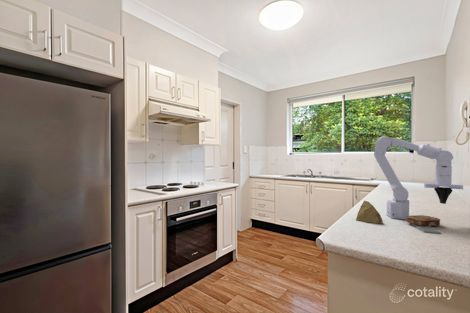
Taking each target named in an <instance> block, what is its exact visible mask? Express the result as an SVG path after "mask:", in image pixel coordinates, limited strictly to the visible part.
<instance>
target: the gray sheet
mask: <svg viewBox="0 0 470 313" xmlns="http://www.w3.org/2000/svg"><path fill="white" fill-rule="evenodd" d="M407 223H408V224H410V225H412V226H413V227H415V228H416V229H418V230H419V231H421V232H423V233H427V234H428V233H429V234H439V235H440V234H442V232H441V231H440V230H438V229H436V228H434V227H433V226H421V225H416V224H413V223H410V222H407Z"/></svg>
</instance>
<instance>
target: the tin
mask: <svg viewBox="0 0 470 313" xmlns="http://www.w3.org/2000/svg"><path fill="white" fill-rule="evenodd" d="M406 222H407V223H408V222H410V223H413V224H416V225H421V226H431V227H433V226H440V224H441V218H438V217H434V216H429V215H409V216H407V219H406ZM410 223H409V224H410Z"/></svg>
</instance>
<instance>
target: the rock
mask: <svg viewBox="0 0 470 313" xmlns="http://www.w3.org/2000/svg"><path fill="white" fill-rule="evenodd" d="M356 215H357V216H356V218H355V221H356V222H362V223H363V222H364V223H373V224H383V223H384V222H383V218H382V217H381V214H380V213H379V212H378V210H377V209H376V208H375V206H374V204H372V203H371V202H369V201H367V200H363V202H362V203H361V206H360V208H359V210H358V212H357V214H356Z"/></svg>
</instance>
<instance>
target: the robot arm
mask: <svg viewBox="0 0 470 313" xmlns="http://www.w3.org/2000/svg"><path fill="white" fill-rule="evenodd" d="M374 146H375V148H374V152H373V155H374V158H375V159H376V162H377V163H378V165H379V167H380V169H381V170H382V173H383V175H384V177H385V178H386V180H387V181H388V183H389V185H390V188H391V190H392V193H393V194H392V196H393V198H392V199H389V200H387V202H386V216H388V217H389V218H390V219H395V220H396V219H398V220H407V216H410V199H408V198H409V191H408V190H407V188H405V187H404V186H403V184H402V182H400V180H399V177H398V176H397V175H396V173H395V171H394V169H393V168H392V167H393V166H392V165H391V164H390V161H389V160H388V158H387V157H386V153H387V151H388V150H389V149H390V147H402V148H403V149H408V150H411V151H415V152H416V153H417V155H419V156H422V157H425V158H428V159H430V160H436V162H435V163H436V164H435V183H427V182H426V183H424V184H423V187H424V188H426V189H427V188H428V189H431V188H432V189H434V191H435V193H436V195H437V197H438V201H439V204H442V205H444V204H445V205H446V203H447V202H448V198H450V195H451V194H452V193H453V190H464V185H463V184H452V178H453V177H452V175H453V174H452V173H453V172H452V171H453V169H452V168H453V167H452V161H453V159H454V156H453V154H452V152H451V151H449V150H442V149H443V148H442V147H439V148H437V147H434V146H431V144H428V143H427V144H425V143H423V144H421V145H418V144H416V143H413V142H410V141H407V140H404V139H400V138H397V137H389V136H387V135H383V136H380V137H379V138H377V140H376V142H375V144H374Z"/></svg>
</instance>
